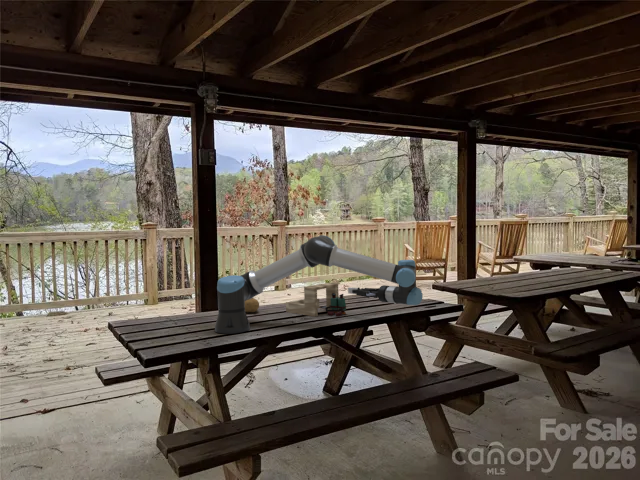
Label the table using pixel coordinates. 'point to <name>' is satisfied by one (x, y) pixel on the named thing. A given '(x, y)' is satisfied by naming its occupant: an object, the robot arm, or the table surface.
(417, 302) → the robot arm
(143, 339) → the table surface
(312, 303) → the tunnel
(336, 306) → the binoculars
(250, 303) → the potato
